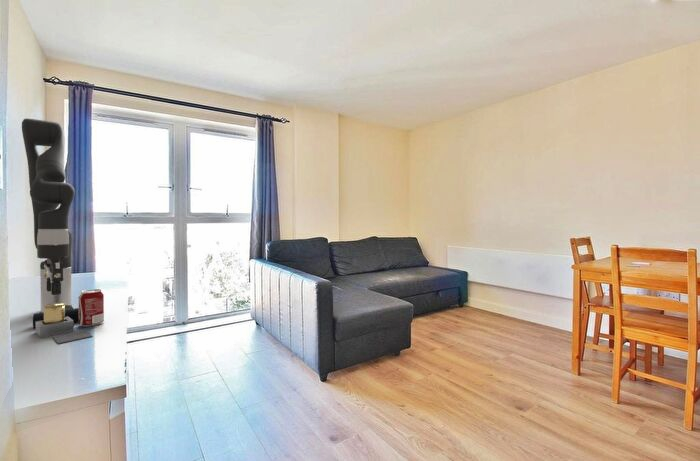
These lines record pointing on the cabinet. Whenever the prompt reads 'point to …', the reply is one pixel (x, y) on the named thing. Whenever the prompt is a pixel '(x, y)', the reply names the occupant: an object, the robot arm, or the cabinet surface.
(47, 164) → the robot arm
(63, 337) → the mat
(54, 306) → the brass cylinder
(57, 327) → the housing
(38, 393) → the cabinet surface
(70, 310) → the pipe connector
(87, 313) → the soda can
